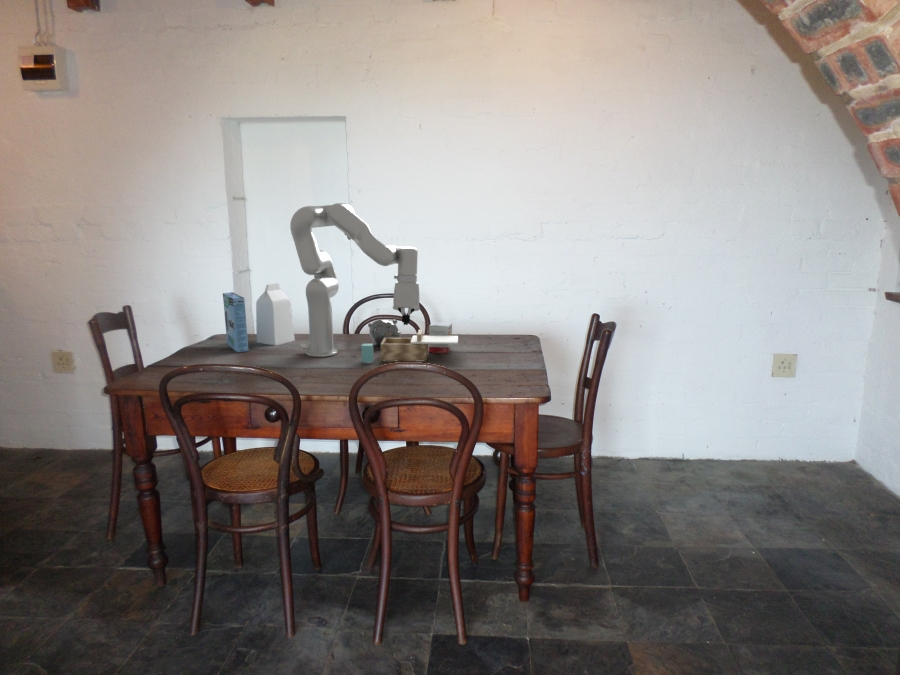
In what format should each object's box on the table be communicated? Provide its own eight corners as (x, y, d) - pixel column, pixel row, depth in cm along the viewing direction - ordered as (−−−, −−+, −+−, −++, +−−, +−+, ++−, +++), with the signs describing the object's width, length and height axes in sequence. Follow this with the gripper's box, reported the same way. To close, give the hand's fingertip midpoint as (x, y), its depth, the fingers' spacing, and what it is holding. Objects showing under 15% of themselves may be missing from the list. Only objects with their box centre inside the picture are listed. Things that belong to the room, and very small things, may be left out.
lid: (410, 343, 247) (410, 335, 246) (413, 337, 259) (412, 328, 259) (457, 344, 247) (457, 335, 246) (458, 337, 259) (458, 329, 258)
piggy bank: (396, 349, 270) (395, 322, 268) (363, 346, 274) (363, 320, 272) (404, 343, 281) (404, 318, 278) (373, 341, 285) (373, 316, 282)
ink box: (448, 353, 262) (448, 325, 260) (428, 352, 264) (428, 325, 262) (452, 349, 271) (452, 322, 268) (433, 348, 272) (432, 321, 270)
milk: (275, 345, 276) (272, 286, 271) (256, 342, 282) (253, 284, 277) (294, 340, 287) (291, 283, 281) (276, 337, 292) (273, 281, 287)
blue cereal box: (248, 351, 265) (245, 297, 260) (236, 352, 262) (232, 298, 258) (237, 342, 281) (234, 291, 276) (225, 344, 279) (222, 292, 274)
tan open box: (380, 361, 249) (380, 344, 248) (384, 354, 261) (384, 337, 259) (426, 361, 249) (426, 344, 247) (427, 354, 260) (427, 338, 259)
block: (361, 363, 246) (361, 345, 245) (363, 360, 250) (363, 343, 249) (372, 363, 246) (371, 345, 245) (373, 360, 250) (373, 343, 249)
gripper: (387, 279, 245) (386, 325, 248) (425, 280, 244) (423, 327, 248) (389, 276, 252) (388, 321, 256) (426, 278, 252) (425, 323, 256)
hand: (405, 324), depth 252 cm, fingers closed
